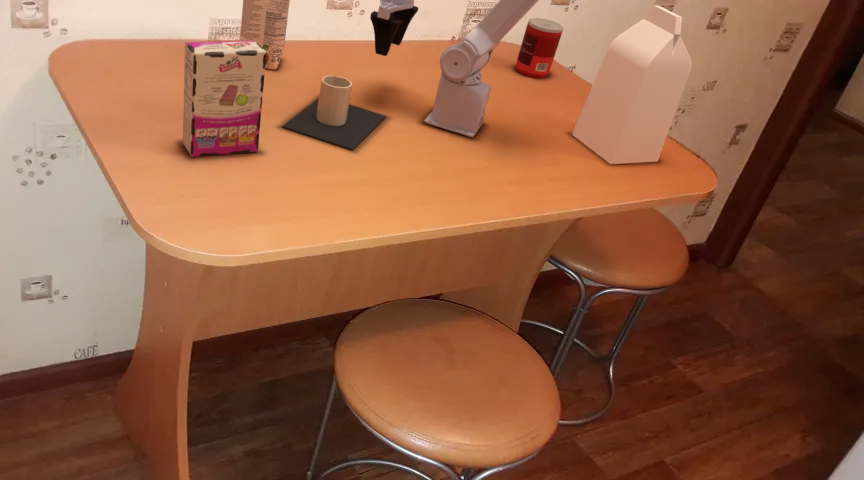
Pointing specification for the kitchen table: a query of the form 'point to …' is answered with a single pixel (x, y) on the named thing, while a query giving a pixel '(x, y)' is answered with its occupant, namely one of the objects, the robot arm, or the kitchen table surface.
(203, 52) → the candy bar box
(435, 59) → the kitchen table surface
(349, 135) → the placemat
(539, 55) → the canned food
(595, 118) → the milk
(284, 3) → the juice carton
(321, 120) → the cream cup
